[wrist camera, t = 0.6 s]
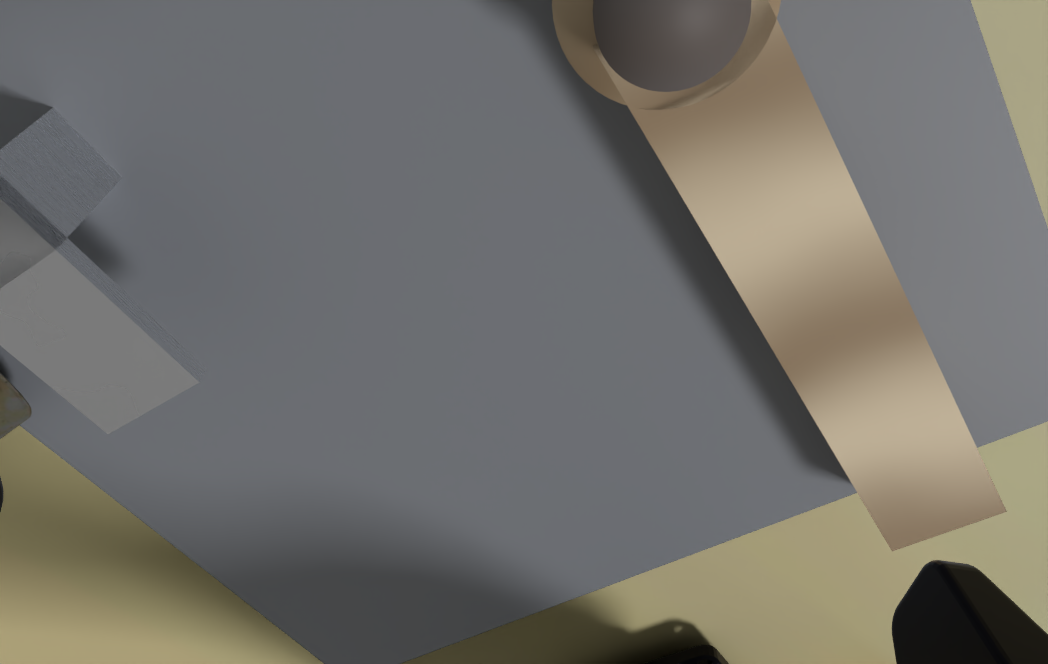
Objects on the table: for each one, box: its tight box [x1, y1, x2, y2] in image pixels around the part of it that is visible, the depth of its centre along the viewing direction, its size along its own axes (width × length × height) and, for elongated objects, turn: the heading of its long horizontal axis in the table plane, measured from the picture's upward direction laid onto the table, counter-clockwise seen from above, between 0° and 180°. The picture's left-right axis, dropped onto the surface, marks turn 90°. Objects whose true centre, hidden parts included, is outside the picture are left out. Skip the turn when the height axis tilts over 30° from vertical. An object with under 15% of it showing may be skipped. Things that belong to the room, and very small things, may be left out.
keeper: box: [0, 108, 207, 434], centre depth 20 cm, size 6×3×3 cm, turn 33°
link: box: [552, 0, 1007, 551], centre depth 19 cm, size 18×4×3 cm, turn 33°
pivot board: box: [0, 0, 1048, 664], centre depth 22 cm, size 25×26×1 cm
